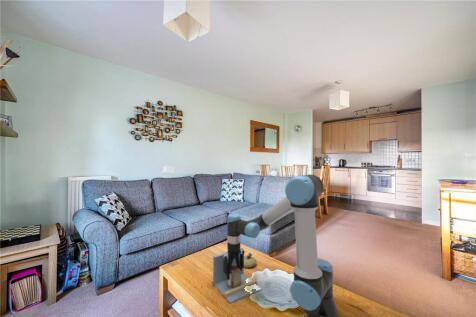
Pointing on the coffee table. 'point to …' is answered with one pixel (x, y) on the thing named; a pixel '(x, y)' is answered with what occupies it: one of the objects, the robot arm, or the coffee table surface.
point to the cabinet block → (235, 277)
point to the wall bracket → (221, 281)
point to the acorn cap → (249, 261)
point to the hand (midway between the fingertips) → (233, 282)
